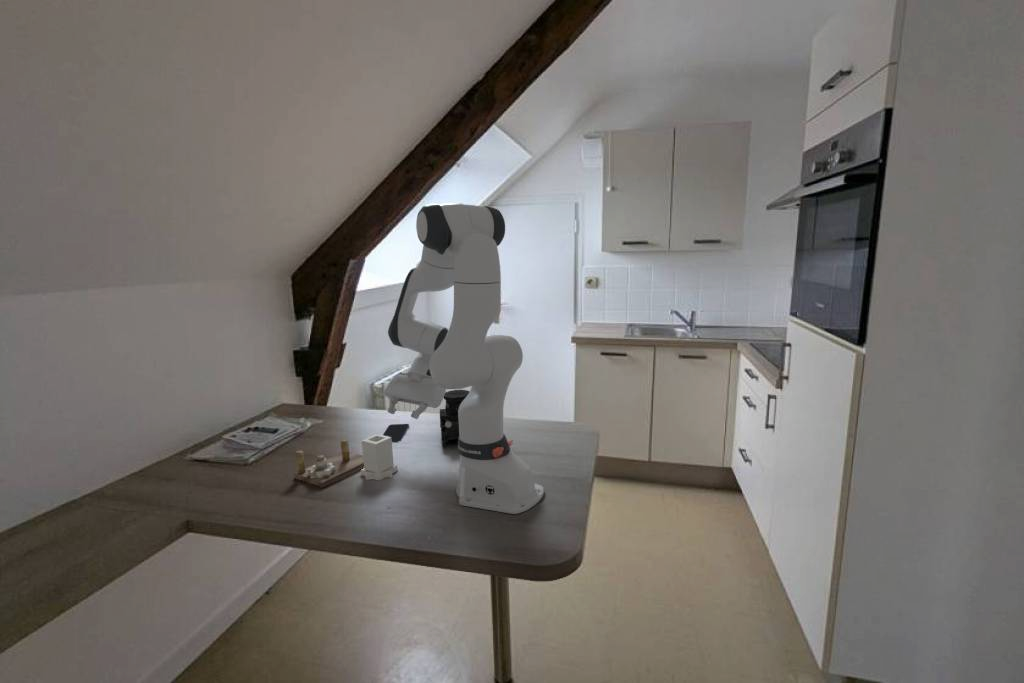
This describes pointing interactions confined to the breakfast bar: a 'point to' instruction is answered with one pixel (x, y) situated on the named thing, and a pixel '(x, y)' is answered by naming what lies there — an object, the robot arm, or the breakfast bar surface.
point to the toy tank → (451, 415)
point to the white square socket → (378, 457)
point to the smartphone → (396, 431)
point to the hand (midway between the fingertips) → (401, 415)
